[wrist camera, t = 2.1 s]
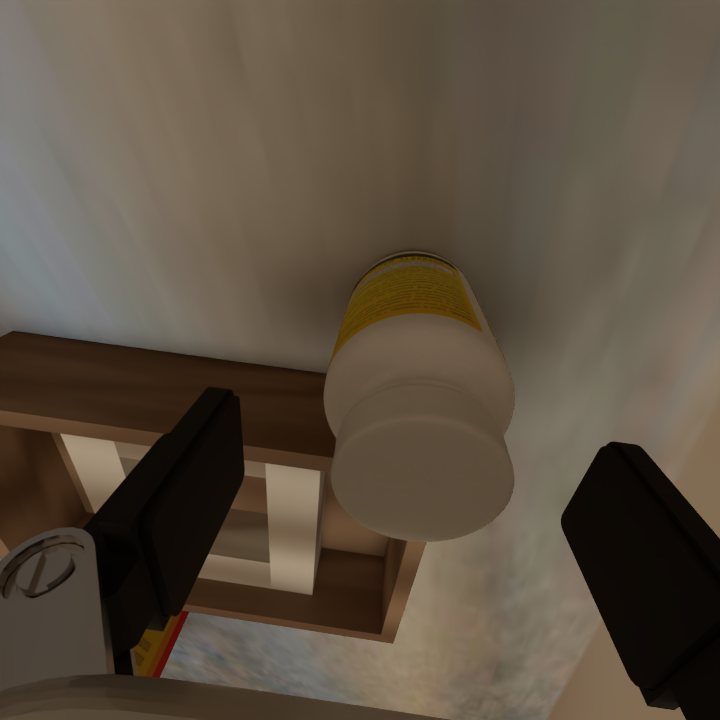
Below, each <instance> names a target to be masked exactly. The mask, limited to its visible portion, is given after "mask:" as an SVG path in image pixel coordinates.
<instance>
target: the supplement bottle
mask: <svg viewBox="0 0 720 720" xmlns="http://www.w3.org/2000/svg"><path fill="white" fill-rule="evenodd" d="M514 400H515V395H514V387H513V382H512V378H511V375H510V372H509V369H508V366H507V364H506V361H505V359H504V356H503V354H502V352H501V350H500V348H499V346H498V344H497V342H496V340H495V338H494V336H493V334H492V332H491V329H490V327H489V325H488V324H487V321H486V319H485V317H484V315H483V313H482V310H481V308H480V306H479V304H478V302H477V299H476V297H475V295H474V293H473V291H472V289H471V287H470V285H469V284H468V282H467V280H466V278H465V277H464V275H463V274H462V273H461V272H460V271H459V269H458V268H456V267H455V266H454V265H453V264H452V263H450V262H449V261H447V260H446V259H444V258H442V257H440V256H437V255H434V254H431V253H427V252H421V251H407V252H401V253H396V254H393V255H390V256H388V257H385V258H383V259H382V260H380V261H378V262H377V263H375V264H374V265H372V266H371V267H370V268H369V269H368V270H367V271H366V272H365V273H364V274H363V275H362V277H361V278H360V279H359V281H358V283H357V284H356V286H355V288H354V290H353V292H352V294H351V297H350V300H349V303H348V307H347V310H346V314H345V317H344V320H343V323H342V326H341V329H340V332H339V336H338V339H337V342H336V345H335V348H334V351H333V355H332V358H331V361H330V364H329V368H328V371H327V375H326V381H325V387H324V408H325V414H326V417H327V421H328V424H329V426H330V428H331V430H332V432H333V434H334V436H335V437H336V447H335V452H334V457H333V462H332V467H331V483H332V488H333V491H334V494H335V496H336V498H337V500H338V502H339V504H340V505H341V506H342V508H343V509H344V510H345V511H346V512H347V513H348V514H349V515H350V516H351V517H352V518H353V519H354V520H356V521H357V522H358V523H360V524H361V525H363V526H365V527H366V528H368V529H370V530H372V531H375V532H377V533H379V534H382V535H385V536H388V537H391V538H396V539H401V540H406V541H417V542H434V541H443V540H449V539H454V538H458V537H462V536H465V535H467V534H470V533H473V532H475V531H477V530H479V529H481V528H482V527H484V526H485V525H487V524H488V523H490V522H491V521H493V520H494V519H495V518H496V517H497V516H498V515H499V514H500V513H501V512H502V511H503V510H504V508H505V507H506V505H507V504H508V502H509V501H510V498H511V495H512V493H513V488H514V471H513V465H512V462H511V459H510V456H509V453H508V450H507V446H506V443H505V440H504V437H503V436H504V434H505V432H506V430H507V428H508V426H509V424H510V421H511V418H512V415H513V410H514Z"/></svg>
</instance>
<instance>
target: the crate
mask: <svg viewBox="0 0 720 720" xmlns="http://www.w3.org/2000/svg"><path fill="white" fill-rule="evenodd" d="M326 375H327V374H321V373H314V372H307V371H299V370H292V369H285V368H278V367H270V366H263V365H256V364H248V363H241V362H234V361H226V360H219V359H212V358H205V357H197V356H190V355H183V354H175V353H168V352H161V351H154V350H146V349H139V348H132V347H124V346H117V345H110V344H102V343H95V342H88V341H81V340H73V339H66V338H59V337H51V336H44V335H37V334H29V333H22V332H15V331H12V332H10V333H8V334H6V335H4V336H2V337H0V557H1V558H2V559H3V558H4V557H5V556H6V555H7V554H8V553H9V552H10V551H11V550H13V549H14V548H16V547H17V546H19V545H20V544H22V543H23V542H25V541H26V540H28V539H30V538H32V537H34V536H36V535H39V534H41V533H43V532H46V531H50V530H54V529H57V528H68V527H74V528H78V529H83V528H84V526H85V525H86V524H87V523H88V522H89V520H90V519H91V518H92V517H93V516H94V515H95V513H96V512H97V511H98V510H99V509H100V507H101V506H102V505H103V504H104V503H105V502H106V500H107V499H108V498H109V497H110V496H111V494H112V493H113V492H114V491H115V490H116V489H117V487H118V486H119V485H120V484H121V483H122V481H123V480H124V479H125V478H126V477H127V476H128V474H129V473H130V472H131V471H132V470H133V468H134V467H135V466H136V465H137V464H138V463H139V461H140V460H141V459H142V458H143V457H144V456H145V454H146V453H147V452H148V451H149V450H150V448H151V447H152V446H153V445H154V444H155V443H156V441H157V440H158V439H159V438H160V437H161V436H162V435H163V434H166V433H170V432H171V431H172V429H173V428H174V427H175V426H176V424H177V423H178V422H179V421H180V420H181V418H182V417H183V416H184V415H185V414H186V412H187V411H188V410H189V409H190V407H191V406H192V405H193V404H194V403H195V401H196V400H197V399H198V398H199V397H200V395H201V394H202V393H203V392H204V391H205V389H206V388H208V387H218V388H225V389H231V390H232V391H233V394H234V395H235V396H239V398H240V409H241V423H242V437H243V452H244V466H245V473H244V479H243V482H242V484H241V487H240V489H239V491H238V493H237V495H236V497H235V499H234V501H233V503H232V506H231V508H230V510H229V512H228V514H227V516H226V518H225V520H224V522H223V525H222V527H221V529H220V531H219V533H218V535H217V537H216V539H215V541H214V544H213V546H212V548H211V550H210V552H209V554H208V556H207V558H206V560H205V563H204V565H203V567H202V569H201V571H200V573H199V575H198V577H197V579H196V582H195V584H194V586H193V588H192V590H191V592H190V594H189V596H188V598H187V601H186V603H185V605H184V607H183V609H182V611H189V612H195V613H201V614H208V615H214V616H221V617H227V618H233V619H240V620H246V621H252V622H259V623H265V624H272V625H278V626H284V627H291V628H297V629H303V630H310V631H316V632H323V633H329V634H335V635H342V636H348V637H355V638H361V639H367V640H374V641H380V642H386V643H393V642H394V639H395V636H396V633H397V630H398V627H399V624H400V621H401V618H402V615H403V612H404V609H405V606H406V603H407V600H408V597H409V594H410V591H411V588H412V585H413V582H414V579H415V576H416V573H417V569H418V566H419V563H420V560H421V557H422V554H423V551H424V548H425V545H426V542H417V541H406V540H401V539H396V538H391V537H388V536H385V535H382V534H379V533H377V532H375V531H372V530H370V529H368V528H366V527H365V526H363V525H361V524H360V523H358V522H357V521H356V520H354V519H353V518H352V517H351V516H350V515H349V514H348V513H347V512H346V511H345V510H344V509H343V508H342V506H341V505H340V504H339V502H338V500H337V498H336V496H335V494H334V491H333V488H332V483H331V467H332V462H333V457H334V452H335V447H336V437H335V436H334V434H333V432H332V430H331V428H330V426H329V424H328V421H327V417H326V414H325V408H324V387H325V381H326Z"/></svg>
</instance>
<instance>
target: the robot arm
mask: <svg viewBox="0 0 720 720" xmlns="http://www.w3.org/2000/svg"><path fill="white" fill-rule="evenodd" d="M244 473H245V466H244V452H243V437H242V423H241V409H240V398H239V396H235V395H234V394H233V391H232V390H231V389H225V388H218V387H208V388H206V389H205V391H204V392H203V393H202V394H201V395H200V397H199V398H198V399H197V400H196V401H195V403H194V404H193V405H192V406H191V407H190V409H189V410H188V411H187V412H186V414H185V415H184V416H183V417H182V418H181V420H180V421H179V422H178V423H177V424H176V426H175V427H174V428H173V429H172V431H171V432H170V433H166V434H163V435H162V436H161V437H160V438H159V439H158V440H157V441H156V443H155V444H154V445H153V446H152V447H151V448H150V450H149V451H148V452H147V453H146V454H145V456H144V457H143V458H142V459H141V460H140V461H139V463H138V464H137V465H136V466H135V467H134V468H133V470H132V471H131V472H130V473H129V474H128V476H127V477H126V478H125V479H124V480H123V481H122V483H121V484H120V485H119V486H118V487H117V489H116V490H115V491H114V492H113V493H112V494H111V496H110V497H109V498H108V499H107V500H106V502H105V503H104V504H103V505H102V506H101V507H100V509H99V510H98V511H97V512H96V513H95V515H94V516H93V517H92V518H91V519H90V520H89V522H88V523H87V524H86V525H85V526H84V528H83V529H78V528H74V527H68V528H57V529H54V530H50V531H46V532H43V533H41V534H39V535H36V536H34V537H32V538H30V539H28V540H26V541H25V542H23V543H22V544H20V545H19V546H17V547H16V548H14V549H13V550H11V551H10V552H9V553H8V554H7V555H6V556H5V557H4V558H3V559H2V560H1V561H0V720H449V719H442V718H436V717H429V716H423V715H417V714H410V713H404V712H397V711H391V710H384V709H378V708H371V707H364V706H358V705H351V704H344V703H338V702H331V701H325V700H318V699H311V698H305V697H298V696H291V695H285V694H278V693H271V692H265V691H258V690H252V689H244V688H237V687H229V686H221V685H213V684H206V683H198V682H190V681H183V680H175V679H167V678H159V677H146V676H138V674H137V668H136V661H135V654H134V647H135V646H137V645H138V644H139V642H140V640H141V638H142V636H143V634H144V632H145V630H146V629H149V630H155V631H162V632H164V629H165V627H166V625H167V623H168V621H169V619H170V617H171V616H178V615H179V613H180V612H181V611H182V609H183V607H184V605H185V603H186V601H187V598H188V596H189V594H190V592H191V590H192V588H193V586H194V584H195V582H196V579H197V577H198V575H199V573H200V571H201V569H202V567H203V565H204V563H205V560H206V558H207V556H208V554H209V552H210V550H211V548H212V546H213V544H214V541H215V539H216V537H217V535H218V533H219V531H220V529H221V527H222V525H223V522H224V520H225V518H226V516H227V514H228V512H229V510H230V508H231V506H232V503H233V501H234V499H235V497H236V495H237V493H238V491H239V489H240V487H241V484H242V482H243V479H244ZM561 526H562V529H563V532H564V534H565V536H566V539H567V541H568V543H569V545H570V547H571V550H572V552H573V554H574V556H575V559H576V561H577V563H578V565H579V567H580V570H581V572H582V574H583V576H584V578H585V581H586V583H587V585H588V587H589V590H590V592H591V594H592V596H593V598H594V601H595V603H596V605H597V607H598V610H599V612H600V614H601V616H602V618H603V621H604V623H605V625H606V627H607V630H608V632H609V634H610V636H611V638H612V640H613V643H614V645H615V647H616V649H617V652H618V653H619V656H620V658H621V660H622V663H623V665H624V667H625V669H626V671H627V674H628V676H629V677H630V679H631V680H632V682H633V683H634V684H635V685H636V686H638V687H639V688H640V691H641V692H642V695H643V697H644V699H645V701H646V704H647V706H651V707H658V708H664V709H671V710H675V709H676V708H678V707H680V708H681V710H682V712H683V714H684V716H685V718H686V720H720V539H719V537H718V536H717V535H716V534H715V533H714V531H713V530H712V529H711V528H710V527H709V526H708V524H707V523H706V522H705V521H704V520H703V519H702V517H701V516H700V515H699V514H698V513H697V512H696V510H695V509H694V508H693V507H692V506H691V505H690V503H689V502H688V501H687V500H686V499H685V498H684V496H683V495H682V494H681V493H680V492H679V490H678V489H677V488H676V487H675V486H674V485H673V483H672V482H671V481H670V480H669V479H668V478H667V476H666V475H665V474H664V473H663V472H662V471H661V469H660V468H659V467H658V466H657V465H656V464H655V462H654V461H653V460H652V459H651V458H650V457H649V455H648V454H647V453H646V452H645V451H644V450H643V449H642V448H641V447H640V446H638V445H635V444H628V443H621V442H610V443H608V444H607V445H606V446H603V447H601V448H600V450H599V451H598V453H597V455H596V456H595V458H594V460H593V462H592V463H591V465H590V467H589V469H588V470H587V472H586V474H585V476H584V477H583V479H582V481H581V483H580V484H579V486H578V488H577V490H576V491H575V493H574V495H573V497H572V498H571V500H570V502H569V504H568V505H567V507H566V509H565V511H564V512H563V514H562V517H561Z"/></svg>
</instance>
